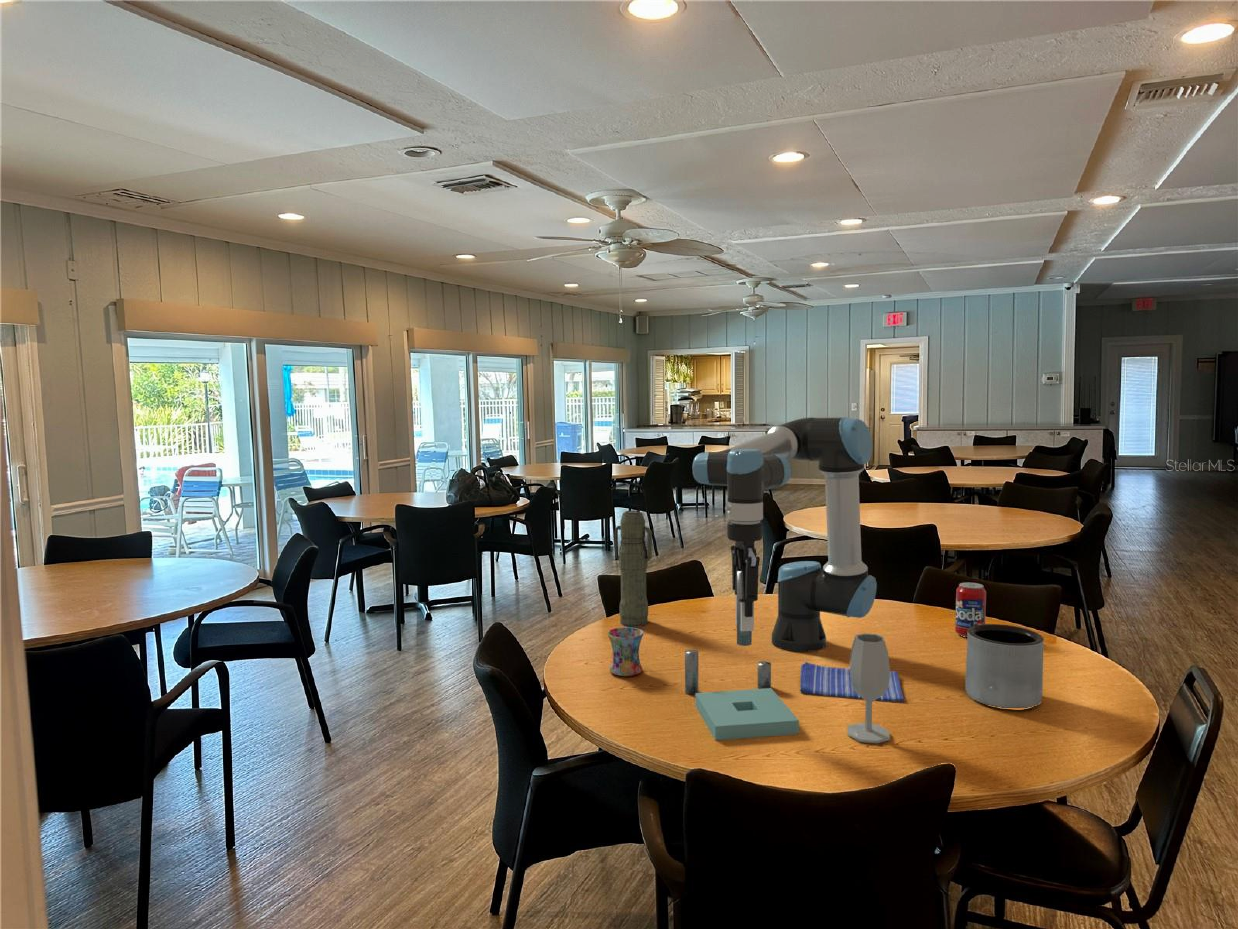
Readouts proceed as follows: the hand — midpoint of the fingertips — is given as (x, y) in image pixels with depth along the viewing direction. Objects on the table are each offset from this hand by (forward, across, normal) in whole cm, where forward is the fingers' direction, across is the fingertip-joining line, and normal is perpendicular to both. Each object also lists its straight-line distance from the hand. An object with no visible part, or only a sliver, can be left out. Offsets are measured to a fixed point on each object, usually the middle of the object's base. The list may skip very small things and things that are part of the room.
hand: (744, 627), depth 170 cm
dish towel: (+21, -15, +31) cm, 41 cm away
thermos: (+21, -75, -13) cm, 79 cm away
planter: (+21, -1, +62) cm, 66 cm away
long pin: (+4, 0, 0) cm, 4 cm away
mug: (+21, -34, -21) cm, 45 cm away
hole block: (+21, 0, 0) cm, 21 cm away
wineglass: (+21, +12, +23) cm, 33 cm away
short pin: (+21, -17, +10) cm, 29 cm away
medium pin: (+21, -17, -8) cm, 28 cm away
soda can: (+21, -45, +81) cm, 95 cm away
